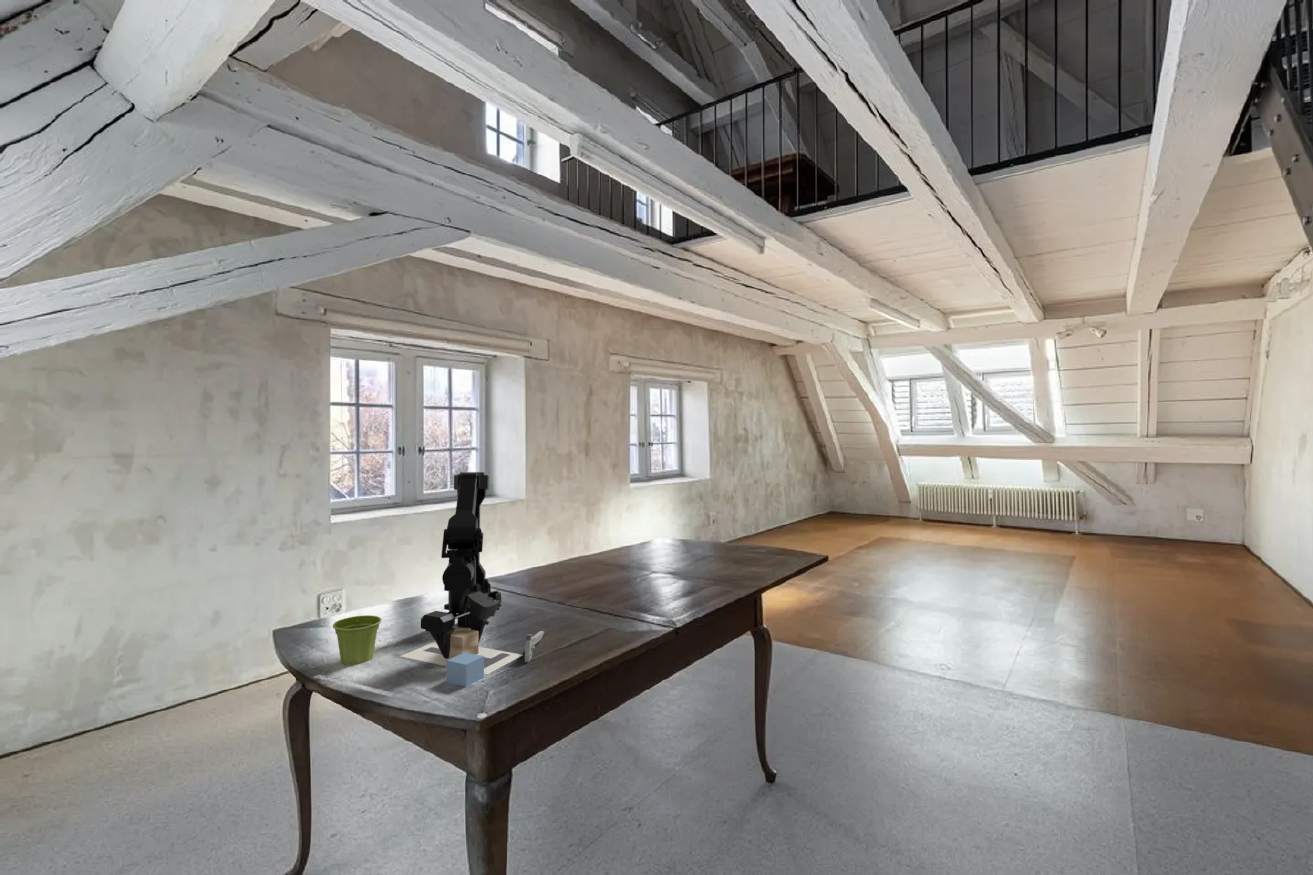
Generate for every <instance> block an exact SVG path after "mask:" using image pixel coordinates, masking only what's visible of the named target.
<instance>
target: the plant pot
mask: <svg viewBox="0 0 1313 875" xmlns="http://www.w3.org/2000/svg"><path fill="white" fill-rule="evenodd" d="M381 623H382V618H381V617H379V616H377V615H369V614H366V615H357V616H350V617H349V616H348V617H346V618H342V619H339V620H337V621H335V622H334V623H333V624H332V628H333V629H334V632H335V634H336V636H337V643H338V649H339V650H338V652H339V657H340V664H343V665H358V664H364V663H366V662H369V661H371V660H373V658H374V652H375V645H376V641H377V640H376V639H377V634H378V630H379V627H380V624H381Z"/></svg>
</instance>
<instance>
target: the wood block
mask: <svg viewBox="0 0 1313 875" xmlns="http://www.w3.org/2000/svg"><path fill="white" fill-rule="evenodd" d="M478 641H479V631H475V630H471V629H470V628H464V627H459V628H458V629H455V630H454V632H453V633H452V634H451V641H450V654H449V659H451V658H453V657H455V656H458V655H460V654H462V653H464V652H465V653H470V654H478V647H479V644H478ZM479 642H480V641H479Z"/></svg>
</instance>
